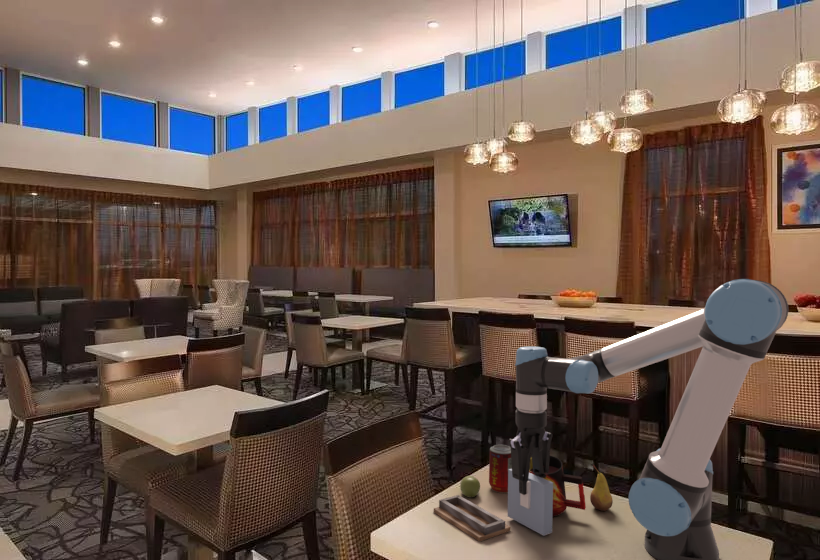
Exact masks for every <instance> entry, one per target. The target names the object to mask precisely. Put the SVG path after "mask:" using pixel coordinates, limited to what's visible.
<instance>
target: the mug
mask: <svg viewBox="0 0 820 560" xmlns="http://www.w3.org/2000/svg"><path fill="white" fill-rule="evenodd" d="M563 465H564V464H563V462H562V460H561V459H560V458H558V457H556V456H554V455H550V459H549V472H548V473H545V475H546V478H543V479H546V480H548V481H550V482H553V514H552V517H556V516H559V515H561V514H563V513H564V512H566V510H567V507H568V508H574V509H578V510H584V511H585V510H586V508H587V506H586V497H585V492H584V481H583V476H579V475H573V474H566V473H564V467H563ZM543 467H544V466H543ZM529 473H532V474H534V473H533V465H532V456H531V458H530V468H529ZM534 475H535V474H534ZM565 483H570V484H576V485H577V486H578V494H579V500H574V499H568V498H567V495H566V493H567V492H566V486H565Z"/></svg>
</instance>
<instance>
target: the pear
mask: <svg viewBox="0 0 820 560" xmlns="http://www.w3.org/2000/svg"><path fill="white" fill-rule="evenodd" d="M480 490H481V482H480V481H479V479H478V478H476V477H475V476H474V475H466V476H465V477H463V478H462V479H461V481H460V491H461V493H462V495H464V496H465V497H467V498H475V497H476V496H478V495H479V493H480Z"/></svg>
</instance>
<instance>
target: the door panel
mask: <svg viewBox="0 0 820 560" xmlns="http://www.w3.org/2000/svg"><path fill="white" fill-rule="evenodd" d="M528 480H529V481H531V508H529V509H528V508H526V507H524V506H521V505H520V493H519V480H518V479H515V478H513V477H512V469H508V493H507V517H508V518H510V519H512V520H514V521H516V522H517V523H519V524H520V525H523V526H525V527H526V528H529V529H530V530H532V531H534V532H536V533H538V534H540V535H541V536H543V537H544V536H547V535H548V534H552V533H553V516H552V514H553V482H550V481H548V480H546V479H543V478H541V477H539V476H536V475H534V474H532V473H529V477H528Z"/></svg>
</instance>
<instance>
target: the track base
mask: <svg viewBox="0 0 820 560" xmlns="http://www.w3.org/2000/svg"><path fill="white" fill-rule="evenodd" d="M438 503H439V504H438V506H437V507H433V513H434V514H436V515H438V516H439V518H440V517H441V518H442V519H443V520H445V521H446V522H449V523H450V524H451V525H453V526H454V527H456V528H458V530H461V531H463V533H465V534H467V535H468V536H470V537H472V538H473V539H475V540H476V541H478V542H482V541H486V540H488V539H491V538H494V537H496V536H500V535H502V534H506V533H508V532H511V526H510V525H508V524H507V523H506V520H504V519H502V518H500V517H499V516H497V515H495V514H493V513H492V512H489V511H488V510H486V509H485V508H482V507H481V506H479V505H477V504H475V503H474V502H472V501H470V500H468V499H466V498H464V497H462V496H461V495H459V494H456V495H453V496H449V497H446V498H442V499H439V501H438Z"/></svg>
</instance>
